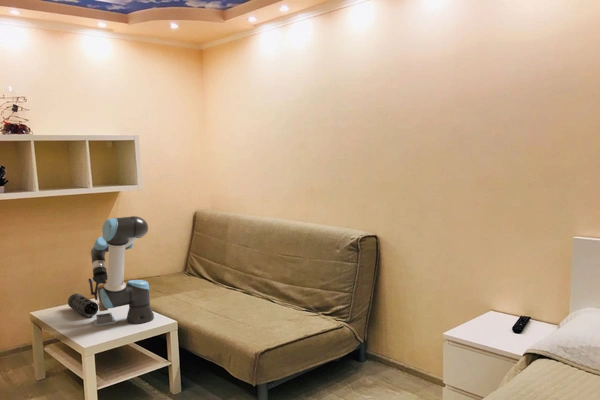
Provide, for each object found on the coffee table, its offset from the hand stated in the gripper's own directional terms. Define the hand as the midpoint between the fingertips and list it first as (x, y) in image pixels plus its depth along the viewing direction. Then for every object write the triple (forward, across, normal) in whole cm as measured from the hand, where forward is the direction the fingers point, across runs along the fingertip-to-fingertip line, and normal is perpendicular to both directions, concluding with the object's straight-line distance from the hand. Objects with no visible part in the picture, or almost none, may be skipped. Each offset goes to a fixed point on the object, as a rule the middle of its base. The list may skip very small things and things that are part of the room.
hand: (103, 303), depth 282 cm
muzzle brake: (-12, +10, -29) cm, 33 cm away
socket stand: (+6, 0, -10) cm, 12 cm away
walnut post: (+1, 0, -6) cm, 6 cm away
